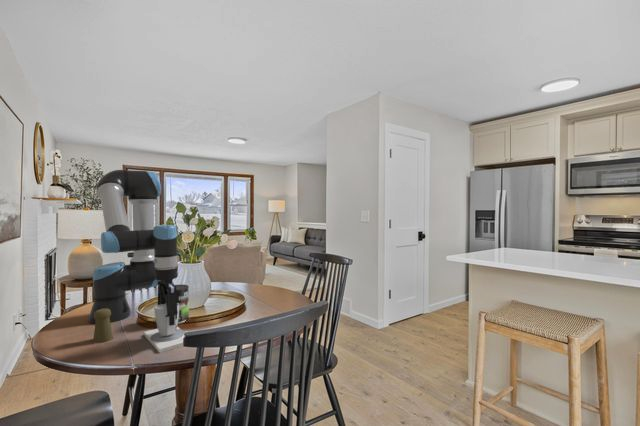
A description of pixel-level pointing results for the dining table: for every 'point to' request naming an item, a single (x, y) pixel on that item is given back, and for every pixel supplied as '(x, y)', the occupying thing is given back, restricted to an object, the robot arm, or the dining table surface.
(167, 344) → the board
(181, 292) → the coffee can
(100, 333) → the olive peg figure
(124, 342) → the dining table surface
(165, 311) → the cup
